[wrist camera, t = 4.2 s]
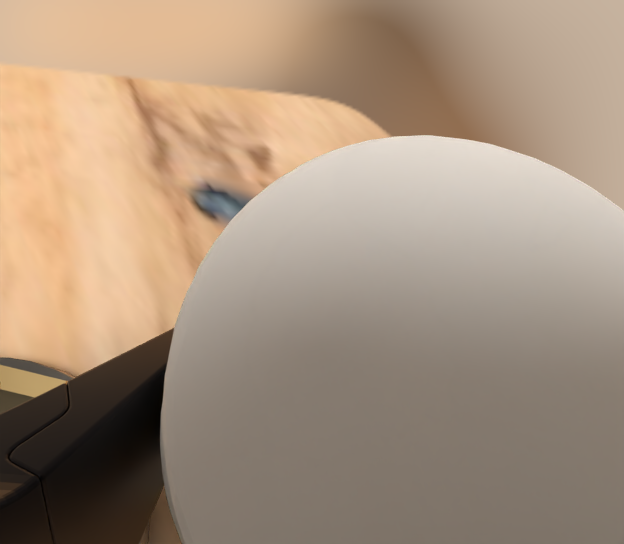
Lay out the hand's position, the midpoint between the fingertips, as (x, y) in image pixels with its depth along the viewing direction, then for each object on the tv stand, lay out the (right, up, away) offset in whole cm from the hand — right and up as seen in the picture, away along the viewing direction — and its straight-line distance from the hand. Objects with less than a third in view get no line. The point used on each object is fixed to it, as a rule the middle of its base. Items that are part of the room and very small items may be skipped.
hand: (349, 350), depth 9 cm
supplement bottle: (-1, -4, +6) cm, 7 cm away
